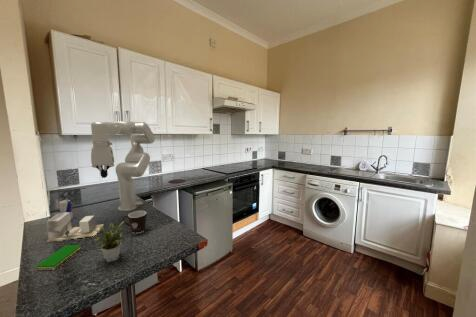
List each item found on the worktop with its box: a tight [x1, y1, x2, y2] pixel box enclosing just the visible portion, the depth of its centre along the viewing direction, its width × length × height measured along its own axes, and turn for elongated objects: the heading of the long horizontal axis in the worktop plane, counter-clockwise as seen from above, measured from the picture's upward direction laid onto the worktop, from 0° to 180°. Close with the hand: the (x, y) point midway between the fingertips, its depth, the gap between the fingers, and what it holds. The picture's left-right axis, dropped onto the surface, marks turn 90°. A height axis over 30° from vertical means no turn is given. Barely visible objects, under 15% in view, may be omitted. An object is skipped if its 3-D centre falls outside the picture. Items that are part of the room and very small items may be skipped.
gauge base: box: [46, 212, 104, 243], centre depth 104 cm, size 20×12×10 cm, turn 105°
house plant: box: [92, 220, 126, 259], centre depth 84 cm, size 14×14×16 cm
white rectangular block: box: [78, 215, 97, 234], centre depth 105 cm, size 4×10×6 cm, turn 15°
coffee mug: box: [121, 210, 147, 233], centre depth 107 cm, size 12×9×10 cm
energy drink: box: [58, 199, 74, 221], centre depth 118 cm, size 5×5×12 cm
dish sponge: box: [36, 244, 82, 269], centre depth 85 cm, size 7×14×2 cm, turn 0°
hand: (104, 177), depth 113 cm, fingers closed
